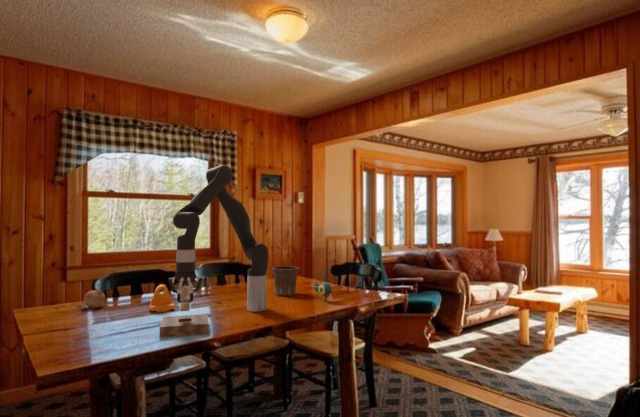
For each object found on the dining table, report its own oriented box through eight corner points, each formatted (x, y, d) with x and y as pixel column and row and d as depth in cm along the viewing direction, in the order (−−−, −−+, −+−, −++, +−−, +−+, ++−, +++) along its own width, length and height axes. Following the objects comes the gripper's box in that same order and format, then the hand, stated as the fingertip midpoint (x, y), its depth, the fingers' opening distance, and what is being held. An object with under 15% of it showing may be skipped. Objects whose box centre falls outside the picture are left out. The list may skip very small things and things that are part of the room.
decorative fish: (319, 305, 215) (327, 304, 219) (329, 291, 209) (337, 290, 213) (308, 286, 223) (317, 285, 226) (318, 272, 216) (326, 272, 220)
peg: (189, 308, 164) (190, 284, 164) (189, 310, 160) (190, 286, 160) (180, 309, 163) (180, 285, 163) (180, 311, 159) (180, 286, 159)
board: (207, 323, 172) (207, 314, 172) (208, 333, 156) (208, 323, 156) (163, 326, 166) (163, 316, 166) (159, 337, 151) (159, 327, 151)
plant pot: (288, 290, 247) (288, 265, 247) (304, 294, 235) (304, 267, 235) (266, 293, 237) (266, 267, 237) (281, 298, 224) (281, 270, 225)
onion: (102, 313, 200) (112, 295, 201) (85, 311, 192) (96, 293, 193) (93, 304, 205) (102, 286, 206) (76, 302, 197) (86, 284, 197)
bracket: (151, 312, 189) (151, 287, 189) (149, 309, 195) (149, 285, 196) (174, 310, 194) (175, 286, 195) (172, 307, 201) (172, 283, 201)
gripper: (203, 259, 167) (203, 299, 167) (168, 259, 163) (167, 301, 163) (203, 261, 160) (203, 303, 160) (166, 261, 156) (165, 305, 156)
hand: (185, 302), depth 161 cm, fingers closed on peg, 3 cm apart
